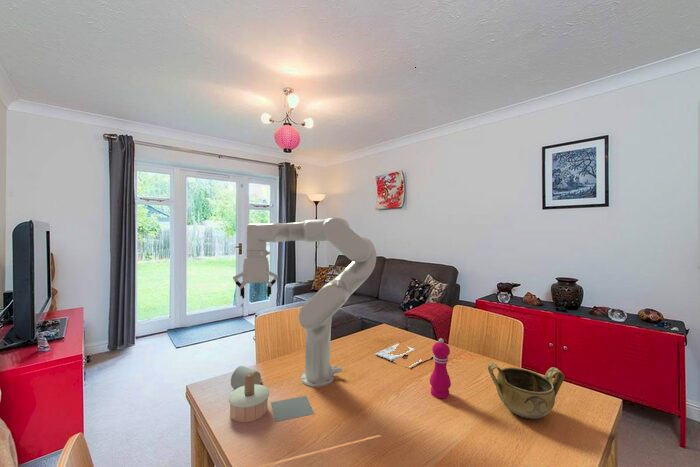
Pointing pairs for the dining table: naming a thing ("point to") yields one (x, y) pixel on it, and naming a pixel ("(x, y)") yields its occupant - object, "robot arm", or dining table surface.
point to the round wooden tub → (248, 412)
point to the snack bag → (392, 357)
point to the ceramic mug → (243, 376)
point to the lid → (249, 393)
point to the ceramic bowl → (527, 390)
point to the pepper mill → (440, 370)
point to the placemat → (291, 408)
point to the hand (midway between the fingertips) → (255, 297)
